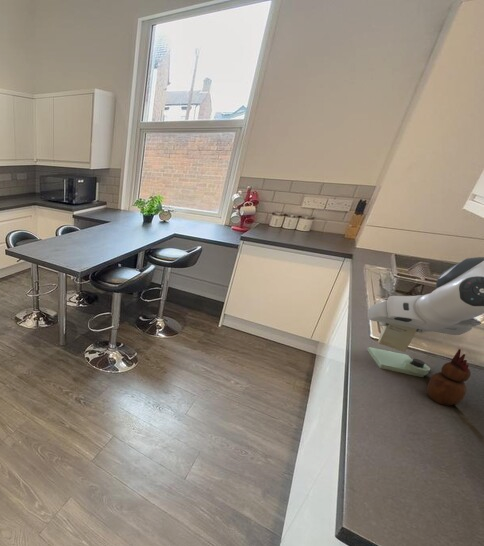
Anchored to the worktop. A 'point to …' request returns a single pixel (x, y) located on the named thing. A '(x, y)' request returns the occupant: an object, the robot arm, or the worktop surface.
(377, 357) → the kitchen scale
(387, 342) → the cosmetic box
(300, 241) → the worktop surface
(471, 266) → the robot arm
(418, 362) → the tare button
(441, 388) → the wooden figurine
